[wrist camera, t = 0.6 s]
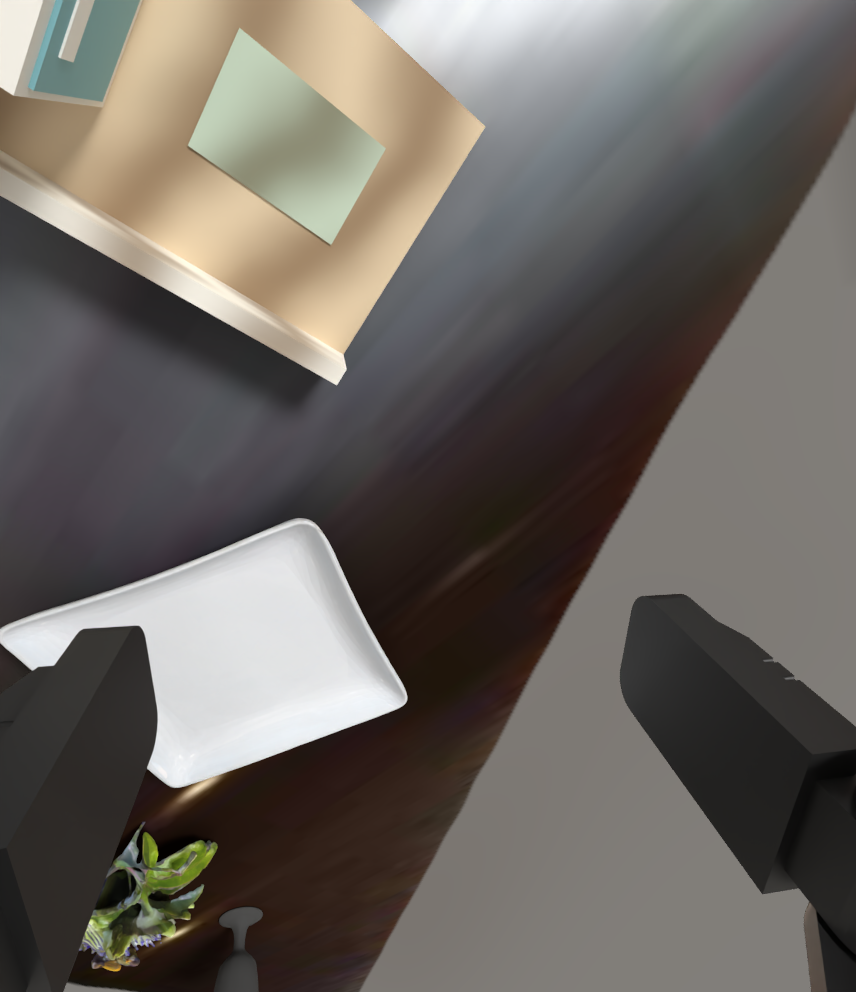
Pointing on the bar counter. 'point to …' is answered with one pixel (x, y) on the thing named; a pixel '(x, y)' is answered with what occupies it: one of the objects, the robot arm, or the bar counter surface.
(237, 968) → the sundae
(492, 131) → the bar counter surface
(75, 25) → the carton
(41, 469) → the bar counter surface
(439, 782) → the bar counter surface
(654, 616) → the robot arm
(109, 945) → the passion flower
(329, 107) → the shelf board
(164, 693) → the salad plate
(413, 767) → the bar counter surface
